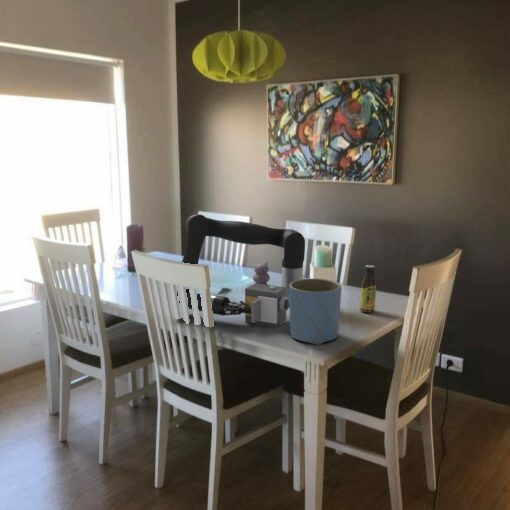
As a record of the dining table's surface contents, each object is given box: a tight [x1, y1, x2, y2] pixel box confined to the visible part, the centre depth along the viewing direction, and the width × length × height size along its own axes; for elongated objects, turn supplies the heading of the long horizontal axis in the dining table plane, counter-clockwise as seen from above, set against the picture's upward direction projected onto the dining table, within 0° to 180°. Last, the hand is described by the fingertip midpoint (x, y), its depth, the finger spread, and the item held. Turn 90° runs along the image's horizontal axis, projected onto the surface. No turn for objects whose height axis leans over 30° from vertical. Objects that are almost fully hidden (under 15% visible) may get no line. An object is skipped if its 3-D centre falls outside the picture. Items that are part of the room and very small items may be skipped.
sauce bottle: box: [359, 264, 377, 313], centre depth 234 cm, size 7×6×20 cm
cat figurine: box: [252, 261, 270, 285], centre depth 274 cm, size 8×8×12 cm
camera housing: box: [244, 282, 290, 328], centre depth 222 cm, size 16×9×15 cm, turn 62°
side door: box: [251, 296, 277, 324], centre depth 214 cm, size 8×6×10 cm
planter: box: [289, 278, 342, 346], centre depth 205 cm, size 19×19×20 cm
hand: (253, 311), depth 215 cm, fingers closed
